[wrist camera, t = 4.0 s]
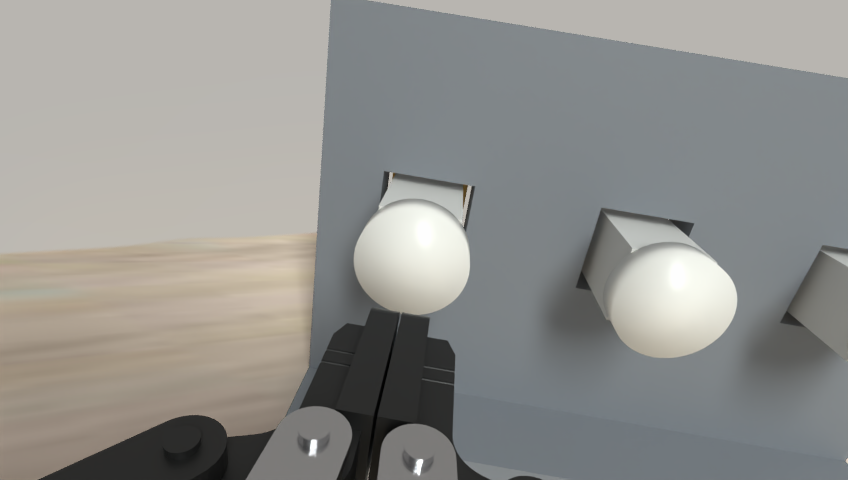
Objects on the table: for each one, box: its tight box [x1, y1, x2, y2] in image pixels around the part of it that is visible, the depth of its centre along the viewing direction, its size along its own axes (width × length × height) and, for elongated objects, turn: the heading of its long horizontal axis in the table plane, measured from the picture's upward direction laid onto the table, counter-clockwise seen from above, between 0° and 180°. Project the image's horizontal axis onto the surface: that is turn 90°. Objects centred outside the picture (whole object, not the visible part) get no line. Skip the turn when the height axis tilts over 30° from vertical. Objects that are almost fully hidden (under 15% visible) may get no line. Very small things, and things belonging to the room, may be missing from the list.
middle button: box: [581, 208, 737, 358], centre depth 20 cm, size 4×10×4 cm, turn 175°
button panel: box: [285, 0, 848, 480], centre depth 21 cm, size 27×10×18 cm, turn 85°
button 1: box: [787, 245, 848, 361], centre depth 20 cm, size 4×10×4 cm, turn 175°
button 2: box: [354, 173, 470, 315], centre depth 20 cm, size 4×10×4 cm, turn 175°
